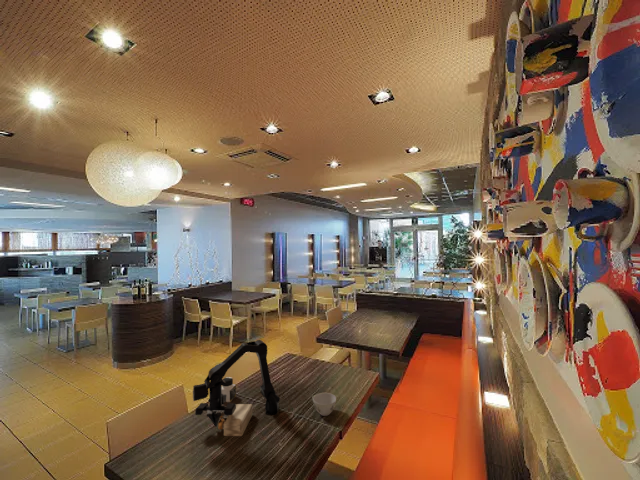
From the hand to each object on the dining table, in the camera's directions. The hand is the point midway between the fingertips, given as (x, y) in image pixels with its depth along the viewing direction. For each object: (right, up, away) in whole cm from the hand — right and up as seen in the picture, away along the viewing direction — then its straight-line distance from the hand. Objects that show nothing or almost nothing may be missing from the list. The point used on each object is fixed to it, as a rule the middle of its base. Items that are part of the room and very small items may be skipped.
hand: (216, 426), depth 140 cm
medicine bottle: (-4, -3, +29) cm, 29 cm away
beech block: (+10, -2, +4) cm, 11 cm away
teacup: (+54, -1, +13) cm, 55 cm away
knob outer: (+7, -1, -1) cm, 7 cm away
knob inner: (+4, -1, +9) cm, 10 cm away
